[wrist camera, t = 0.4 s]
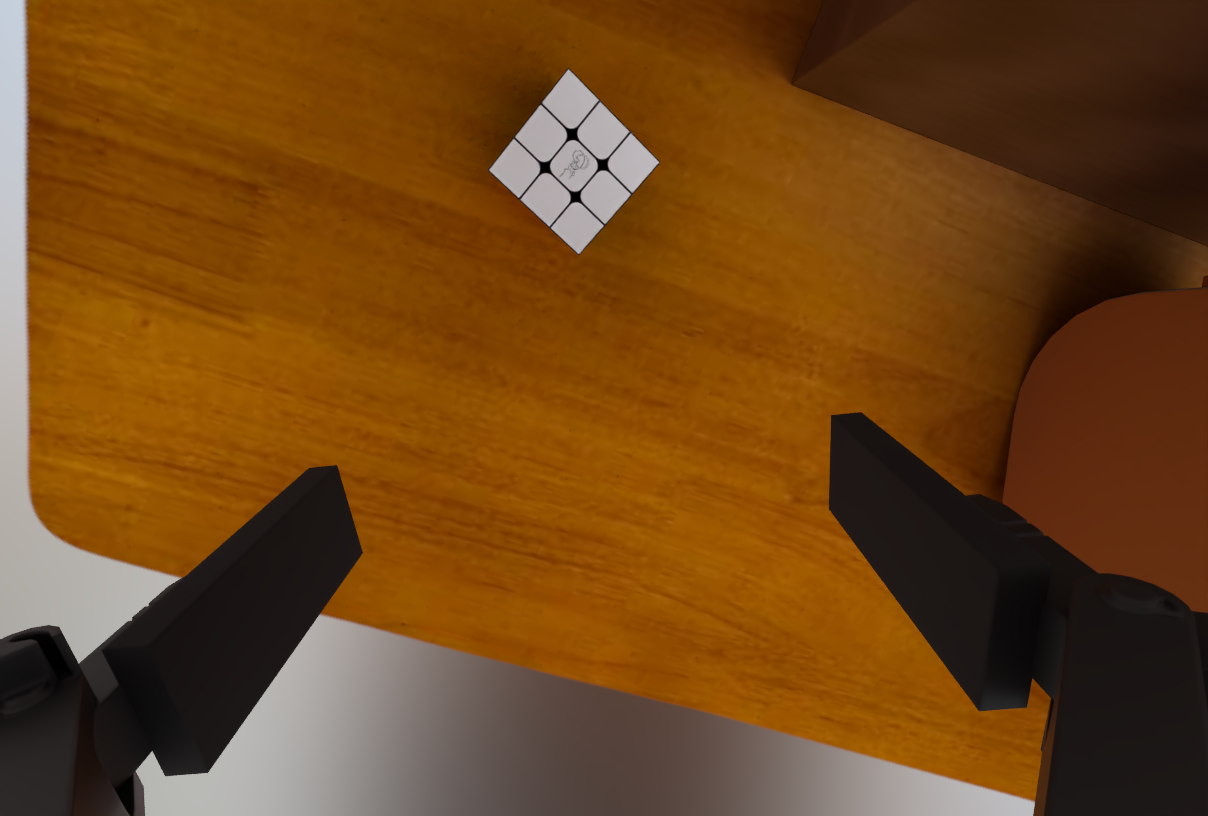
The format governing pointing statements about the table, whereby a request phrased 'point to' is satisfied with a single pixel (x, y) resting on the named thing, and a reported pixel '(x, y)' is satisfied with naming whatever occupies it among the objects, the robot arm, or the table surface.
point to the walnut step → (1038, 90)
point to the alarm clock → (1121, 440)
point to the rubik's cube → (573, 163)
